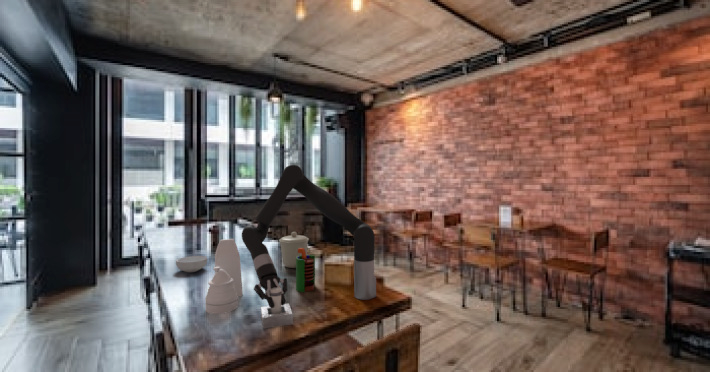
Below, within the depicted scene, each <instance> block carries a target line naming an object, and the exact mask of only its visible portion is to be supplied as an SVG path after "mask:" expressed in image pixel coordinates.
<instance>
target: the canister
mask: <svg viewBox="0 0 710 372" xmlns="http://www.w3.org/2000/svg"><path fill="white" fill-rule="evenodd" d="M309 240H310V237H309V238H308V237H307V236H305V235H298V233H297V232H296V231H292V232H291V233H290V235H286V236H282V237H281V238H279V240H278V241H279V244H280V252H281V259H282V264H283V266H284V267H286V268H290V269H296V257H297V256H301V255H302V254H301V253H298V249H299V248H304V249H305V252H306V255H308V254H307V253H308V244H309V243H308V242H309Z"/></svg>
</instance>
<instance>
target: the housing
mask: <svg viewBox="0 0 710 372" xmlns="http://www.w3.org/2000/svg"><path fill="white" fill-rule="evenodd" d="M281 310H282V313H278V314H271V307H269V305H267V306H266V305H265V306H261V307H260V317H261V318H260V319H261V327H262V329H270V328H276V327H283V326H290V325H294V324H293V323H294V322H293V321H294V320H293V312H292V309H291V306H290V303H285V304H284V305H282V304H281Z"/></svg>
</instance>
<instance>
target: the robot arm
mask: <svg viewBox="0 0 710 372" xmlns="http://www.w3.org/2000/svg"><path fill="white" fill-rule="evenodd" d="M293 190H294V191H296V192H298V193H299V194H301V195H302V196H303V197H304V198H305V199H306V200H307V201H308V202H309V203H310V204H311V205H312V206H313V207H314V208H316V209H317V211H318V212H320V214H323V215H324V216H325V217H326V218H328V219H329V220H331V221H332V222H335V223H336V224H338V225H340V226H341V227H343V228H344V229H345V230H346V231H348V233H349V234H351V236H352V237H353V265H354V266H353V270H354V271H353V274H354V275H353V276H354V277H353V279H354V282H353V283H354V286H353V287H354V288H353V289H354V291H353V292H354V298H356V299H358V300H366V301H367V300H371V299H374V298H376V297H377V277H376V275H375V247H376V245H375V244H376V243H375V241H376V240H375V238H376V237H375V232H374V230H373V228H372V226H370V225H369V224H367V223H366V222H364V221H363V220H362V219H360V218H358V217H357V216H355V215H354V214H353V213H352V212H351V211H350V209H348V208H347V207H346V206H345V205H344V204H343V203H342V202H341V201H340V200H339V199H338V198H336V197H335V196H334V195H332V194H331V193H330V192H328V191H327V190H325V189H323V188H322V187H320V186H318V185H316V184H315V183H313V181H311V180H310V179H309V178H308V177H307V176H306V175H305V174H304V172H303V169H302V168H301V167H300V166H299V165H296V164H289V165H287V166H285V168H284V169H283V171H282V173H281V176H280V178H279V180H278V183H277V184H276V186H275V188H274V189H273V191H272V193H271V194H270V196H269V197H268V199H267V200H266V201H265V203H264V204H263V206H262V208H261V209H260V210H259V212H258V213H257V214H256V216H255V220H256V222H257V226H256V227H255V226H253V225H247V226H245V227H244V228H243V230H242V231H241V239H242V243H243V244H244V245H245V247H246V249H247V250H248V251H249V253H250V257H251V259H252V263H253V267H254V271H255V274H256V275H257V276H256V277H257V278H258V281H259V283H258V284H255V286H254V287H253V291H255V294H257V295H258V297H259V298H260V299H261V300H262V301H263V300H266V302H267V303H268V305H267V306H269V307H271V308H274V302H273V299H272V297H271V295H270V291H271V288H275V287H279V288H281V304H282V305H284V304H286V300H287V299H286V296H285V295H286V293H287V292H288V278H286V277H284V278H280V277H279V275H278V272H277V270H276V267H275V264H274V261H273V259H272V256H270V253H269V250H268V247H267V245H266V244H265V243H263V242H265V240H266V238H267V236H268V232H269V230H270V226H271V224H273V221H274V219H276V216H277V215H278V213H279V212H280V210H281V208H282V206H283V204H284V202H285V201H286V198H288V196H289V194H290V193H291V192H292V191H293ZM280 284H281V285H280Z"/></svg>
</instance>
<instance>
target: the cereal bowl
mask: <svg viewBox="0 0 710 372" xmlns="http://www.w3.org/2000/svg"><path fill="white" fill-rule="evenodd" d="M175 262H176V263H175V265H176V267H177V269H179V271H184V272H185V273H195V272H198V271H200V270H202V269H203V268H205V267H206V266H207V263H208V257H207V256H204V255H193V256H185V257H181V258H178V259H175Z"/></svg>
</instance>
